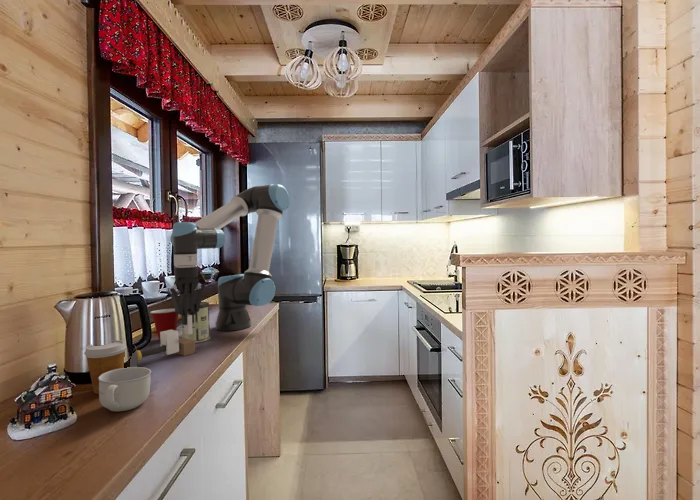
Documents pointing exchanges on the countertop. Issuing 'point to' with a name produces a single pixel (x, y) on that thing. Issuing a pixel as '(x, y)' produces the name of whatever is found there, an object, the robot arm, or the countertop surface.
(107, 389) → the teacup
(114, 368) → the disposable coffee cup
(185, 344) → the cord rail
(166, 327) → the plastic cup
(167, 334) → the white upright block
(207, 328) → the coffee can
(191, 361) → the countertop surface
